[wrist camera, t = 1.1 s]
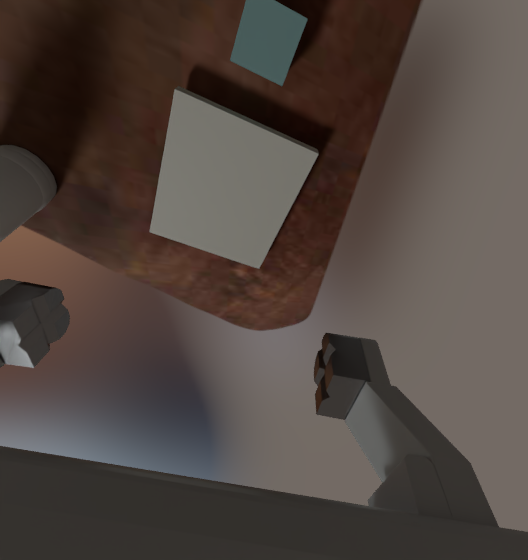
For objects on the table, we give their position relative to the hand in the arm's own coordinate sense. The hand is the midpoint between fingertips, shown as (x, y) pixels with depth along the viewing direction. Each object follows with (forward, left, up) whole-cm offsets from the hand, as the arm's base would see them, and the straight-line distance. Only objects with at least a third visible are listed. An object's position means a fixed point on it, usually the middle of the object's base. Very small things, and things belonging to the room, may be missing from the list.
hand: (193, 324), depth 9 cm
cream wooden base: (+10, 0, -31) cm, 33 cm away
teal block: (-6, -1, -31) cm, 32 cm away
